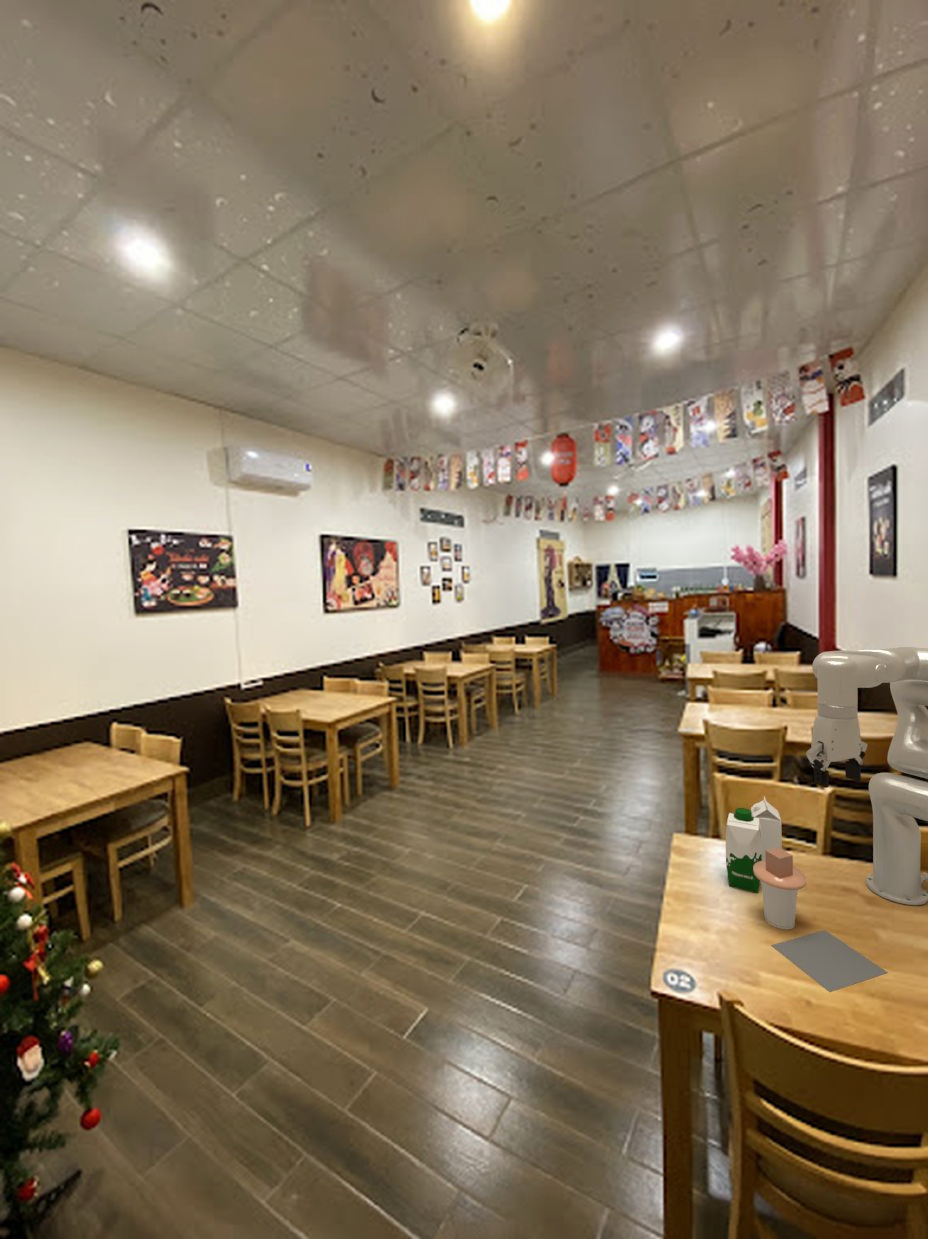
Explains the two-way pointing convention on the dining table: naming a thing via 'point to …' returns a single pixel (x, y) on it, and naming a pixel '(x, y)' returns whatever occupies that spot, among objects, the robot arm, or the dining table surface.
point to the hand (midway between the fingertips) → (837, 782)
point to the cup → (779, 906)
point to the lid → (779, 871)
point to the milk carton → (768, 826)
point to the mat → (828, 960)
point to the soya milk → (743, 849)
